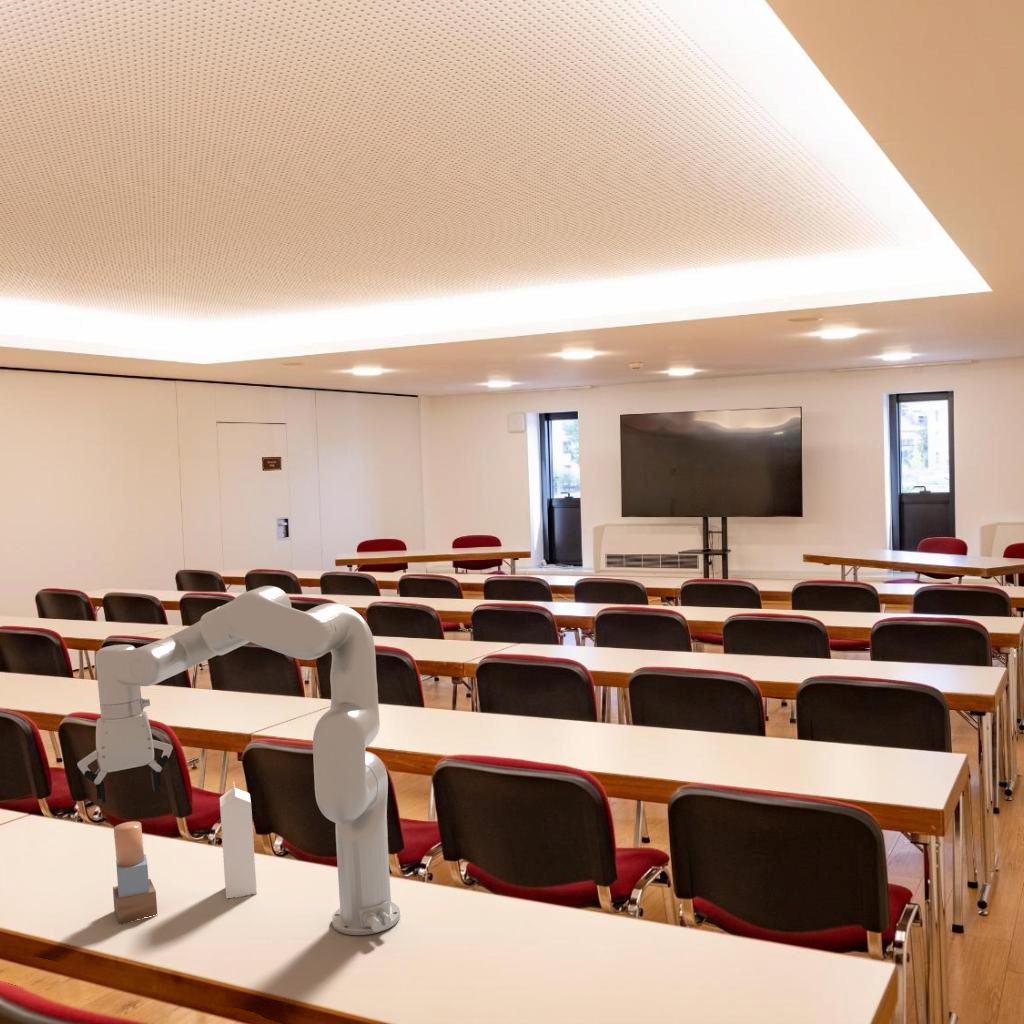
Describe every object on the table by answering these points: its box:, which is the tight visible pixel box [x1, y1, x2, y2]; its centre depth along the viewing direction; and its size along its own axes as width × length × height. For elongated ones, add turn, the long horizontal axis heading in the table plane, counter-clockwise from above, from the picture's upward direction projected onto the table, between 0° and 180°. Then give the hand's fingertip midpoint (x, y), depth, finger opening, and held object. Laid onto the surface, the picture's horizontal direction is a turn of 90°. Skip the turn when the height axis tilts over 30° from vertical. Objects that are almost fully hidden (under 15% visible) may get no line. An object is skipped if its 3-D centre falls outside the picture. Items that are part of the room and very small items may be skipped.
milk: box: [219, 780, 258, 900], centre depth 202 cm, size 6×6×22 cm
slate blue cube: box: [115, 853, 149, 898], centre depth 194 cm, size 6×6×6 cm
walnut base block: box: [112, 878, 158, 925], centre depth 194 cm, size 7×7×5 cm
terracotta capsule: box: [113, 821, 145, 867], centre depth 194 cm, size 5×5×7 cm
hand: (129, 796), depth 193 cm, fingers open, 9 cm apart
